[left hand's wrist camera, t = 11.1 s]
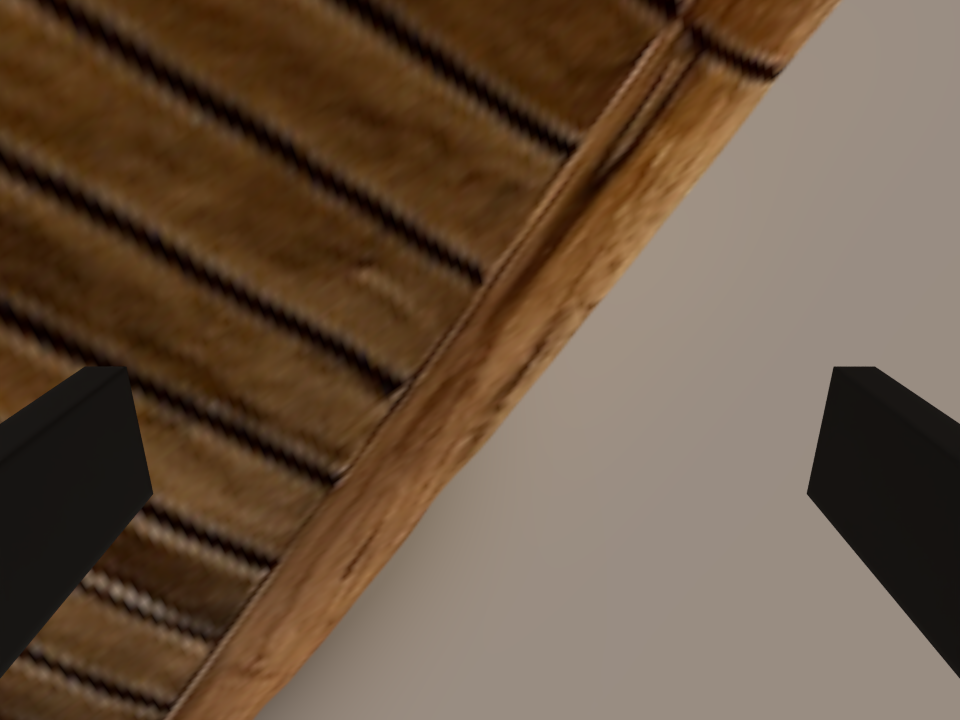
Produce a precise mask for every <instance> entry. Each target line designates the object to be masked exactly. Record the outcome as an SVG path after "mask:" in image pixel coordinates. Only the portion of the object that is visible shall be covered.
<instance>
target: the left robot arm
mask: <svg viewBox="0 0 960 720" xmlns="http://www.w3.org/2000/svg"><path fill="white" fill-rule="evenodd" d="M152 495H153V490H152V485H151V481H150V476H149V471H148V467H147V462H146V457H145V452H144V448H143V443H142V438H141V434H140V429H139V424H138V419H137V415H136V410H135V405H134V401H133V396H132V391H131V386H130V382H129V377H128V372H127V368H126V367H84V368H82V369H81V370H79V371H78V372H76V373H75V374H73V375H72V376H70V377H69V378H67V379H66V380H64V381H63V382H62V383H60V384H59V385H57V386H56V387H54V388H53V389H51V390H50V391H48V392H47V393H45V394H44V395H42V396H41V397H39V398H38V399H36V400H35V401H33V402H32V403H30V404H29V405H27V406H26V407H25V408H23V409H22V410H20V411H19V412H17V413H16V414H14V415H13V416H11V417H10V418H8V419H7V420H5V421H4V422H2V423H1V424H0V678H1V677H2V676H3V674H4V673H5V672H6V671H7V670H8V668H9V667H10V666H11V665H12V664H13V662H14V661H15V660H16V659H17V658H18V656H19V655H20V654H21V653H22V652H23V650H24V649H25V648H26V647H27V645H28V644H29V643H30V642H31V641H32V639H33V638H34V637H35V636H36V635H37V633H38V632H39V631H40V630H41V629H42V627H43V626H44V625H45V624H46V623H47V621H48V620H49V619H50V618H51V617H52V615H53V614H54V613H55V612H56V611H57V609H58V608H59V607H60V606H61V604H62V603H63V602H64V601H65V600H66V598H67V597H68V596H69V595H70V594H71V592H72V591H73V590H74V589H75V588H76V586H77V585H78V584H79V583H80V582H81V580H82V579H83V578H84V577H85V576H86V574H87V573H88V572H89V571H90V570H91V568H92V567H93V566H94V565H95V563H96V562H97V561H98V560H99V559H100V557H101V556H102V555H103V554H104V553H105V551H106V550H107V549H108V548H109V547H110V545H111V544H112V543H113V542H114V541H115V539H116V538H117V537H118V536H119V535H120V533H121V532H122V531H123V530H124V529H125V527H126V526H127V525H128V524H129V522H130V521H131V520H132V519H133V518H134V516H135V515H136V514H137V513H138V512H139V510H140V509H141V508H142V507H143V506H144V504H145V503H146V502H147V501H148V500H149V498H150V497H151V496H152ZM807 495H808V496H809V497H810V498H811V500H812V501H813V502H814V503H815V504H816V506H817V507H818V508H819V509H820V510H821V512H822V513H823V514H824V515H825V516H826V518H827V519H828V520H829V521H830V522H831V524H832V525H833V526H834V527H835V528H836V530H837V531H838V532H839V533H840V535H841V536H842V537H843V538H844V539H845V541H846V542H847V543H848V544H849V545H850V547H851V548H852V549H853V550H854V551H855V553H856V554H857V555H858V556H859V557H860V559H861V560H862V561H863V562H864V563H865V565H866V566H867V567H868V568H869V569H870V571H871V572H872V573H873V574H874V575H875V577H876V578H877V579H878V580H879V582H880V583H881V584H882V585H883V586H884V588H885V589H886V590H887V591H888V592H889V594H890V595H891V596H892V597H893V598H894V600H895V601H896V602H897V603H898V604H899V606H900V607H901V608H902V609H903V610H904V612H905V613H906V614H907V615H908V617H909V618H910V619H911V620H912V621H913V623H914V624H915V625H916V626H917V627H918V628H919V630H920V631H921V632H922V633H923V635H924V636H925V637H926V638H927V639H928V641H929V642H930V643H931V644H932V645H933V647H934V648H935V649H936V650H937V652H938V653H939V654H940V655H941V656H942V657H943V659H944V660H945V661H946V662H947V664H948V665H949V666H950V667H951V668H952V670H953V671H954V672H955V673H956V674H957V676H958V677H959V678H960V424H959V423H958V422H956V421H955V420H953V419H952V418H950V417H949V416H947V415H946V414H944V413H943V412H941V411H940V410H938V409H937V408H935V407H934V406H933V405H931V404H930V403H928V402H927V401H925V400H924V399H922V398H921V397H919V396H918V395H916V394H915V393H913V392H912V391H910V390H909V389H907V388H906V387H904V386H903V385H901V384H900V383H898V382H897V381H896V380H894V379H893V378H891V377H890V376H888V375H887V374H885V373H884V372H882V371H881V370H879V369H878V368H876V367H834V368H833V372H832V377H831V382H830V387H829V391H828V396H827V401H826V405H825V410H824V415H823V419H822V424H821V429H820V434H819V438H818V443H817V448H816V452H815V457H814V462H813V467H812V471H811V476H810V481H809V485H808V490H807Z"/></svg>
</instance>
